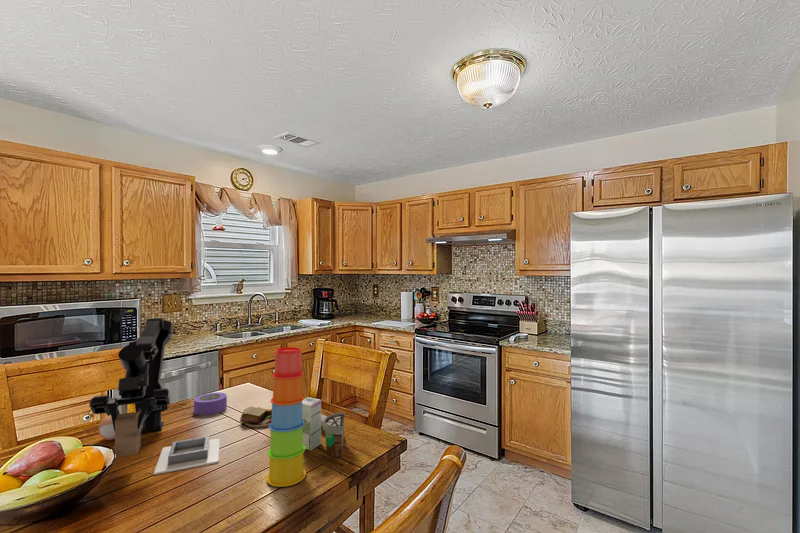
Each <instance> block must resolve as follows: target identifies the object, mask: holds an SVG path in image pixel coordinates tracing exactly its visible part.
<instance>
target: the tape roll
mask: <svg viewBox="0 0 800 533" xmlns="http://www.w3.org/2000/svg"><path fill="white" fill-rule="evenodd" d="M227 396H228V395H227V394H226V392H207V393H203V394H201V395H198V396H196V397H194V399H193V413H194V414H195V415H199V416H205V415H206V416H207V415H214V414H218V413H221V412H223V411H225V410H226V409H227V408H228V405H227V403H228V399H227V398H228V397H227Z"/></svg>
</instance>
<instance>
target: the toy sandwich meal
mask: <svg viewBox="0 0 800 533" xmlns="http://www.w3.org/2000/svg"><path fill="white" fill-rule="evenodd" d="M239 422H240V423H244V425H246V426H247V427H249V428H252V429H261V428H262V429H263V428H269V425H270V424H271V423H272V408H270V409H269V408H268V409H266V408H264V407H263V408H262V407H260V406H259V407H254V406H249V407H246V408H245V409H243V411H242V414H241V415H240V419H239Z"/></svg>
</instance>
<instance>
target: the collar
mask: <svg viewBox="0 0 800 533" xmlns="http://www.w3.org/2000/svg"><path fill="white" fill-rule="evenodd" d="M209 440H210V435H208V436H207V435H206V436H200V437H194V438H189V439H183V440H182V439H181V440H175V441H172V444H171V449H170V452H169V455H168V465H174V464H179V463H185V462H190V461H196V460H201V459H207V458H208V450H209ZM201 446H204V449H201V450H195V451H190V452H184V453H178V454H175V453H176V451H178V450H183V449H189V448H195V447H201Z"/></svg>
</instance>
